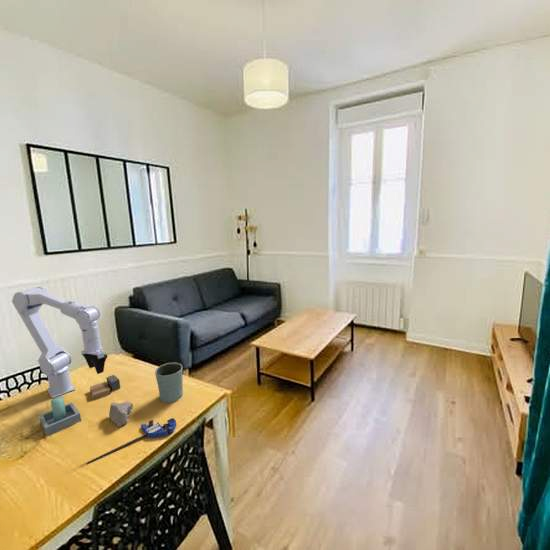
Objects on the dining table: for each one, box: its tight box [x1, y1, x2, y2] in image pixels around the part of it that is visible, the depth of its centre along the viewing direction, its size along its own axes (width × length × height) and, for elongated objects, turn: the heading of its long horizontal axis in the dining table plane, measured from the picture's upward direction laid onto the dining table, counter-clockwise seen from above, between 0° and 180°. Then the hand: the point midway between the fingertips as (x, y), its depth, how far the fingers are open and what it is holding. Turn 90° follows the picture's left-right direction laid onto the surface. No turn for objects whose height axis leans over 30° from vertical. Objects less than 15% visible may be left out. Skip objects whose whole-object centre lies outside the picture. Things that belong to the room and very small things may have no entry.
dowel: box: [50, 396, 67, 423], centre depth 107 cm, size 4×4×8 cm
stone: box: [108, 400, 134, 427], centre depth 108 cm, size 10×8×6 cm
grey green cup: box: [154, 362, 184, 404], centre depth 119 cm, size 10×10×12 cm
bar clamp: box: [79, 417, 177, 468], centre depth 95 cm, size 32×2×10 cm
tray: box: [38, 402, 82, 437], centre depth 107 cm, size 10×10×3 cm
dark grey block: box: [105, 374, 121, 392], centre depth 128 cm, size 6×3×4 cm, turn 47°
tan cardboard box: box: [89, 381, 112, 401], centre depth 125 cm, size 8×6×2 cm
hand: (96, 369), depth 122 cm, fingers open, 7 cm apart
